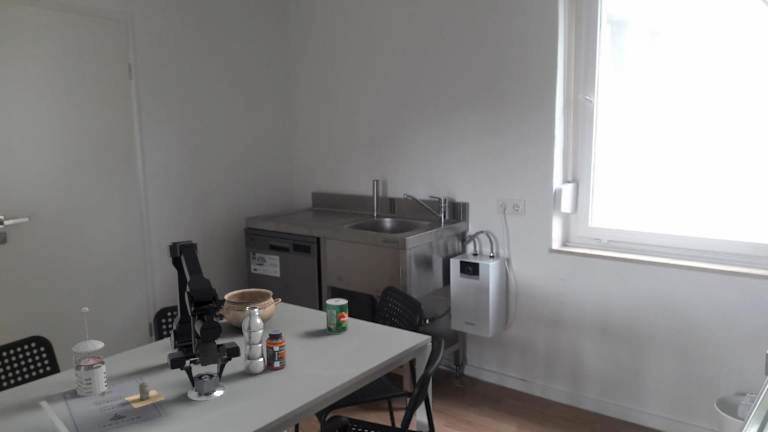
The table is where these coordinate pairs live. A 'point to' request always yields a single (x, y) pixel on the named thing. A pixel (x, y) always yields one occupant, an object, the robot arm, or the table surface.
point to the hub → (208, 395)
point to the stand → (144, 396)
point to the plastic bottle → (253, 342)
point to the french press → (89, 367)
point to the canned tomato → (337, 315)
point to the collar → (206, 382)
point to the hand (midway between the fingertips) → (206, 384)
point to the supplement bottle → (275, 350)
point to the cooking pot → (248, 305)
